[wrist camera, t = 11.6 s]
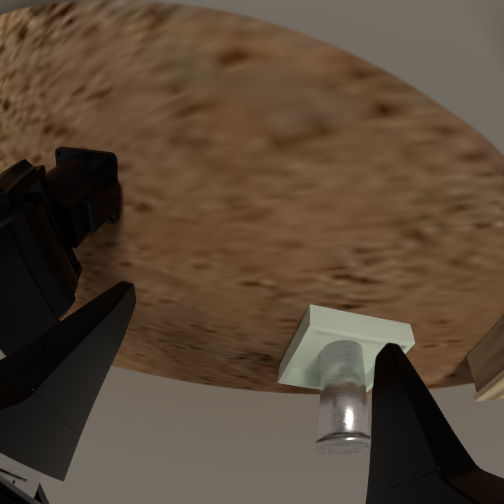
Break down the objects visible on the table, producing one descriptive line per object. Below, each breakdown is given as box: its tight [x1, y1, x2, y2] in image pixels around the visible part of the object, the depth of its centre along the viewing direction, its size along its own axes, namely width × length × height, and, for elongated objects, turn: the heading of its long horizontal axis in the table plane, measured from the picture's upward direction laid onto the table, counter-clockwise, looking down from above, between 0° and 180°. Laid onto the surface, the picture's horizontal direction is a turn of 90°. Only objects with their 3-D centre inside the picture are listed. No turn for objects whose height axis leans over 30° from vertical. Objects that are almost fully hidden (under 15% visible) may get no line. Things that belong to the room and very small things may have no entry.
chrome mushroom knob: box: [315, 340, 371, 455], centre depth 25 cm, size 5×5×11 cm
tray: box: [278, 304, 415, 393], centre depth 29 cm, size 11×11×2 cm
